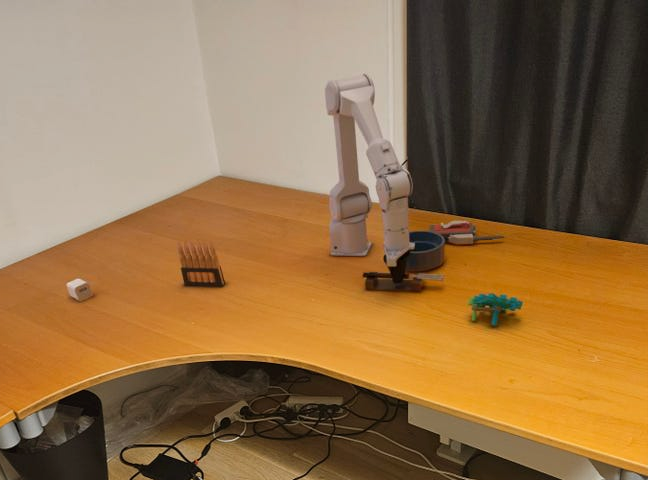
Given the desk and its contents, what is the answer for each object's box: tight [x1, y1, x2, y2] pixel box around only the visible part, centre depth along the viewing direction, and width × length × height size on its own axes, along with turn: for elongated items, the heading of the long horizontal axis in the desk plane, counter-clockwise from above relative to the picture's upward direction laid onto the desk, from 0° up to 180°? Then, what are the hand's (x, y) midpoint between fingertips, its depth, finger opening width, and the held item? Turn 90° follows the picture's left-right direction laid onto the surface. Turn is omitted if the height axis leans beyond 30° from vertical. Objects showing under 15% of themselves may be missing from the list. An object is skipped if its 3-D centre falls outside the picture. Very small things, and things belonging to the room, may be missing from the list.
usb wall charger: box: [66, 278, 94, 302], centre depth 158 cm, size 4×7×4 cm, turn 47°
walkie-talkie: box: [429, 219, 505, 245], centre depth 162 cm, size 9×4×20 cm
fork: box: [362, 272, 445, 282], centre depth 143 cm, size 19×2×1 cm, turn 75°
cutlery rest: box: [364, 271, 425, 293], centre depth 145 cm, size 13×5×2 cm, turn 75°
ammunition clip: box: [176, 240, 226, 288], centre depth 153 cm, size 11×2×12 cm, turn 75°
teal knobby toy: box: [467, 292, 524, 327], centre depth 127 cm, size 11×6×10 cm
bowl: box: [405, 230, 446, 272], centre depth 154 cm, size 13×13×6 cm
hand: (398, 280), depth 144 cm, fingers closed on fork, 1 cm apart
